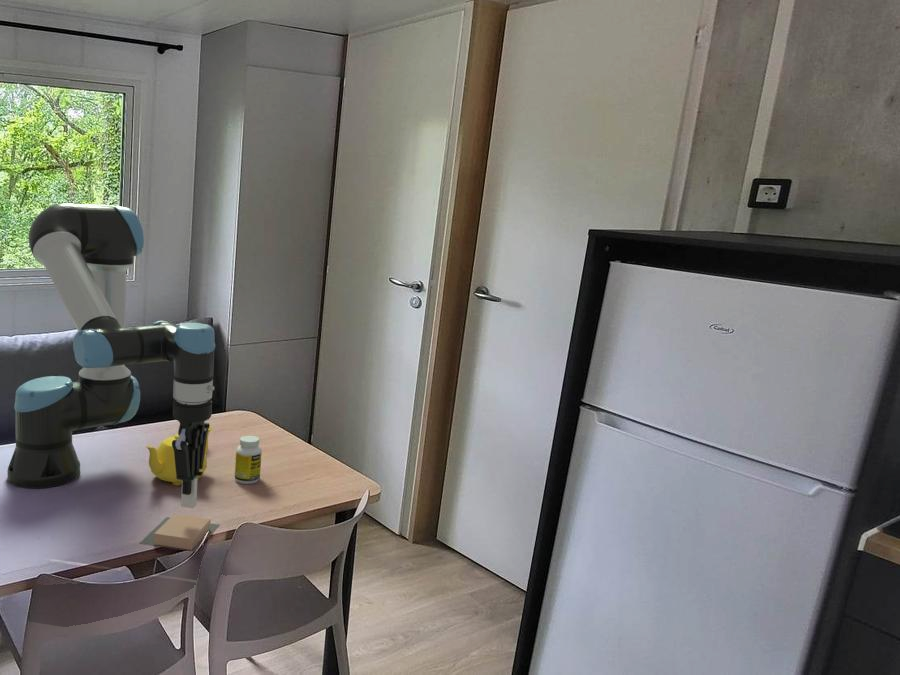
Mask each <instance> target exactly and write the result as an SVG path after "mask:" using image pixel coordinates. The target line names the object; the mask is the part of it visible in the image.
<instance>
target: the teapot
mask: <svg viewBox="0 0 900 675" xmlns="http://www.w3.org/2000/svg"><path fill="white" fill-rule="evenodd" d="M212 430H213V426H209V430H208V433H207V440H206V447H205V455H204V462H203V468H202V469H199V472H203V474H202V476H197V477H198V480H197V481H199V480H200V479H201V477H203V476H204V472H205V471H206V470H207V467H208V463H207V462H208V461H207V457H206V455H207V453H208V449H209V434H210V432H211V431H212ZM178 438H179V435H178V433H176V434H174V436H170V437H166V438H164V439H163V440H162V442H161V443H160V444H159V445H158V447H157V448H155V447H154V446H149V445H146V446H145V448H146V449H148V452H149V458H148V466H149V468H150V471H151V472H152V474H153V475H154V476H155V477H156V478H158V479H159V480H162V481H165V482H168V483H170V482H171V483H172V485H174V486H180V485H181V486H182V480H178V479H177V478H176V467H175V456H174V449H173V447H172V441H173V440H178Z"/></svg>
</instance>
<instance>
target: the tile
mask: <svg viewBox="0 0 900 675" xmlns="http://www.w3.org/2000/svg"><path fill="white" fill-rule="evenodd" d="M211 522H212V521H211V519H210V518H204V517H199V516H192V515H184V514H183V515H182V514H178V513H177V514H176V513H174V514H173V515H172V516H171V517H170V519H169V520H168V521H167V522H166V523H165V524H163V525H162V526H161V527H160V528H159V529H158V530H157V531H156V532H155V533H154V544H155V545H162V546H169V547H176V548H183V549H189V550H192V549H193V548H194V547H195V546H196V545H197V544H198V543H199V541H200V540H201V539H202V538H203V537H204V536H205V535H206V533H207V532H208V531H209V530H210V523H211Z"/></svg>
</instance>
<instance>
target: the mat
mask: <svg viewBox="0 0 900 675" xmlns="http://www.w3.org/2000/svg"><path fill="white" fill-rule="evenodd" d="M170 518H171V517H169V516H168V517H167V516H166V517H165V518H164V519H163V520H162V521H161V522H160V523H159V524H158V525H157V526H155V527H154V529H153V530H151V531H150V532H149V534H147V535H146V536H145V537H144V538H143V539H142V540H141V541H140V542H139V544H140V545H147V546H148V545H149V546H155V547H161V548H168V549H173V550H181V551H188V552H193V553H196V552H195V551H196V549H197V548H198V547H199V545H200V544H201V542H202V539H203V538H202V539H201V540H200V541H199V543H198V544H197V545H196V546H195V547H194V548H193V549H192V550H189V549H183V548H176V547H169V546H162V545H155V544H154V533H155V532H156V531H157V530H158V529H159V528H160V527H161V526H162V525H163V524H165V523H166V522H167V521H168V520H169V519H170ZM219 526H220V524H217V523H211V522H210V530H209V533H210V534H209V538H210V537H211V536H212V534H214V533H215V531H216V530H217V529H218V528H219Z"/></svg>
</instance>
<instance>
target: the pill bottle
mask: <svg viewBox="0 0 900 675" xmlns="http://www.w3.org/2000/svg"><path fill="white" fill-rule="evenodd" d="M259 445H260V438H259V437H258V436H256V435H243V436H241V437H240V438H239V445H237V446H238V447H236V450H235V452H236V453H235V465H234V468H235V469H234V480H235V481H236V482H237V483H239V484H242V485H243V484H244V485H251V484H252V485H253V484H255V483H257V482H259V481H260V478H261V468H262V466H261V464H262V453H263V452H262V448H261V446H259Z"/></svg>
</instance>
